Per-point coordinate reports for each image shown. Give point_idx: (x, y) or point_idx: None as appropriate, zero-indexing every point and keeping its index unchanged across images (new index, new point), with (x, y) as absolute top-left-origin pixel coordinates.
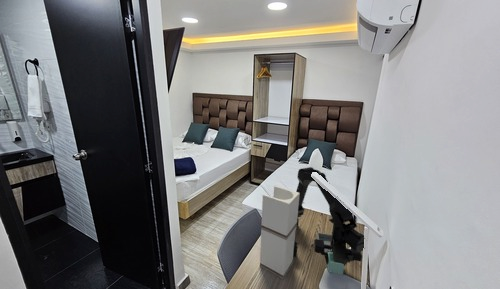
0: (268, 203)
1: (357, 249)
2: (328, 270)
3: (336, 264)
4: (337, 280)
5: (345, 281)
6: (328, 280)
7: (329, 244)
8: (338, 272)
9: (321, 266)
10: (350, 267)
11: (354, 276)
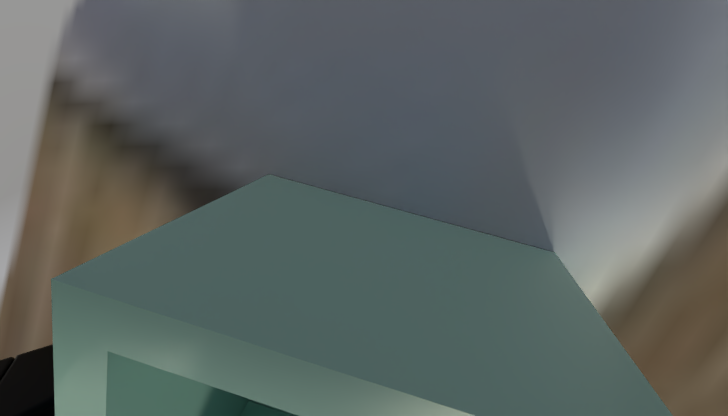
0: None
1: None
2: (552, 261)
3: (371, 344)
4: (436, 20)
5: (267, 6)
6: (675, 3)
7: None
8: (340, 203)
9: None
10: None
11: (72, 138)
